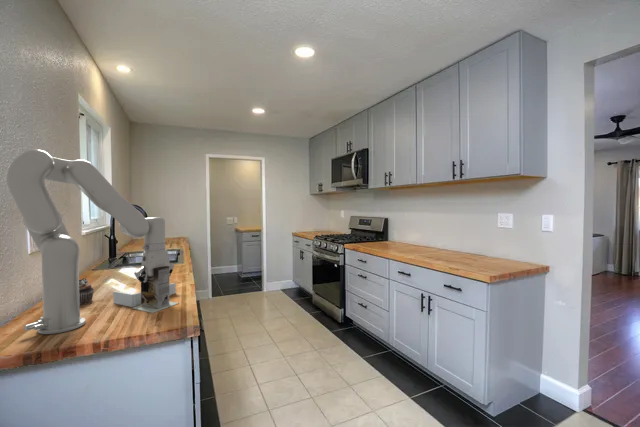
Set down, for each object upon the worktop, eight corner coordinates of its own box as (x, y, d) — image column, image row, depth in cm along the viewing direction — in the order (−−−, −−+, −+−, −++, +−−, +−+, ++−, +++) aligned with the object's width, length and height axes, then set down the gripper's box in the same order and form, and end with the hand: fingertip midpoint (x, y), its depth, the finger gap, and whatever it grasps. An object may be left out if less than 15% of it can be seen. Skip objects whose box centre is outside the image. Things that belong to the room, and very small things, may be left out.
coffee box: (140, 306, 124) (139, 267, 124) (153, 301, 130) (152, 264, 130) (158, 309, 121) (157, 268, 121) (170, 303, 128) (169, 265, 127)
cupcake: (65, 307, 124) (65, 283, 124) (65, 301, 132) (65, 278, 131) (95, 303, 130) (94, 279, 130) (93, 297, 138) (93, 275, 137)
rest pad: (152, 313, 118) (152, 311, 118) (132, 308, 123) (132, 307, 123) (178, 303, 129) (178, 302, 129) (158, 300, 134) (158, 299, 134)
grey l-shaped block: (132, 307, 125) (132, 295, 125) (113, 303, 130) (113, 291, 130) (175, 293, 144) (175, 282, 144) (157, 290, 149) (157, 280, 149)
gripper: (141, 250, 116) (142, 295, 116) (179, 245, 132) (179, 284, 132) (128, 249, 119) (129, 293, 119) (166, 244, 135) (167, 282, 135)
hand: (155, 288), depth 126 cm, fingers open, 9 cm apart
